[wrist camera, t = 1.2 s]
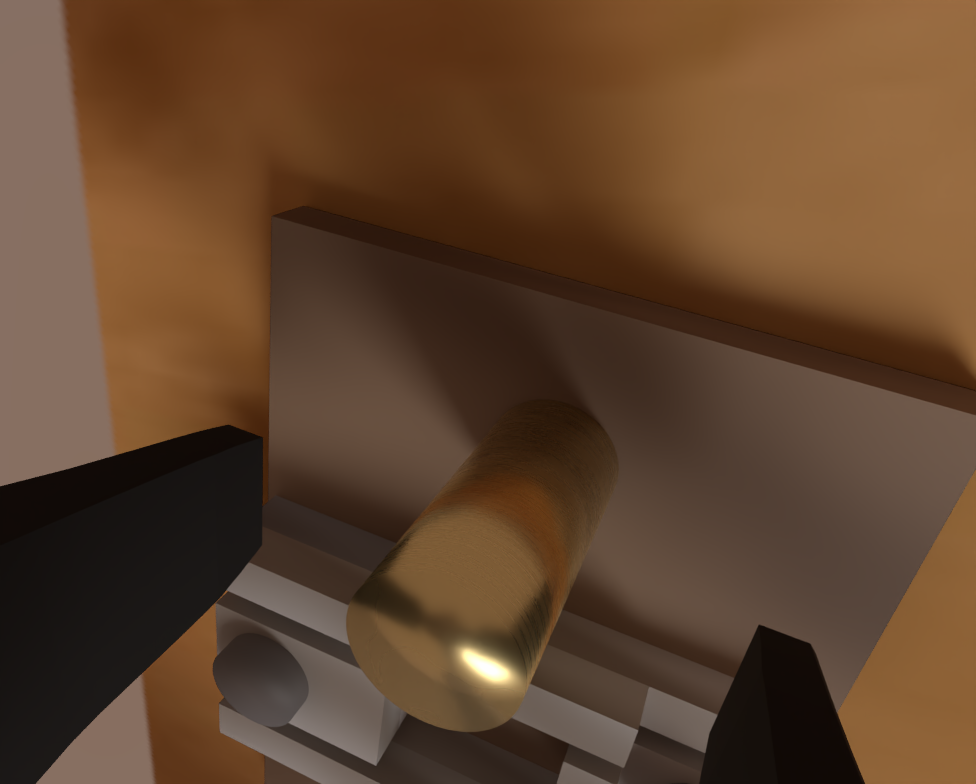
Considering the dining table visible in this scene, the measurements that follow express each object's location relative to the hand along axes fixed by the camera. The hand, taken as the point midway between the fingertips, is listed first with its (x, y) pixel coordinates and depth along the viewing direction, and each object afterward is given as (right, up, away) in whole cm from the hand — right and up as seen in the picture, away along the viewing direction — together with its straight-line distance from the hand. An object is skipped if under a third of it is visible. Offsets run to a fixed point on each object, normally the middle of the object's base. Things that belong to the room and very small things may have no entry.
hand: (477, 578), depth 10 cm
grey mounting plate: (+1, -4, +7) cm, 8 cm away
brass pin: (+1, +1, +3) cm, 4 cm away
